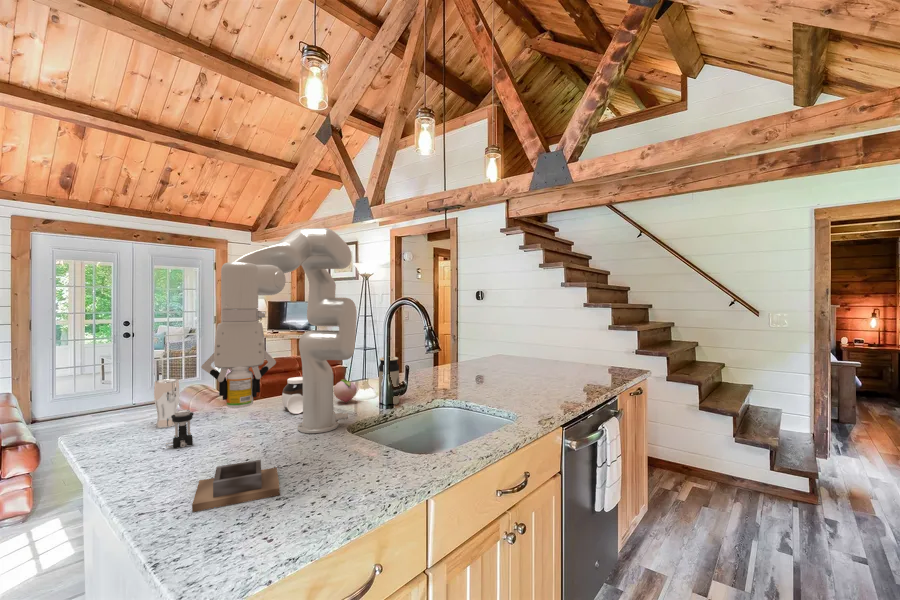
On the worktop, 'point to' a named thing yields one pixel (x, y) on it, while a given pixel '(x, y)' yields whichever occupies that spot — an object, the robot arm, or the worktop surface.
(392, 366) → the travel mug
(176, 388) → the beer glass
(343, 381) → the decorative fruit
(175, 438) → the push button
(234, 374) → the supplement bottle
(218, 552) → the worktop surface
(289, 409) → the spread jar
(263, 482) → the collar board
